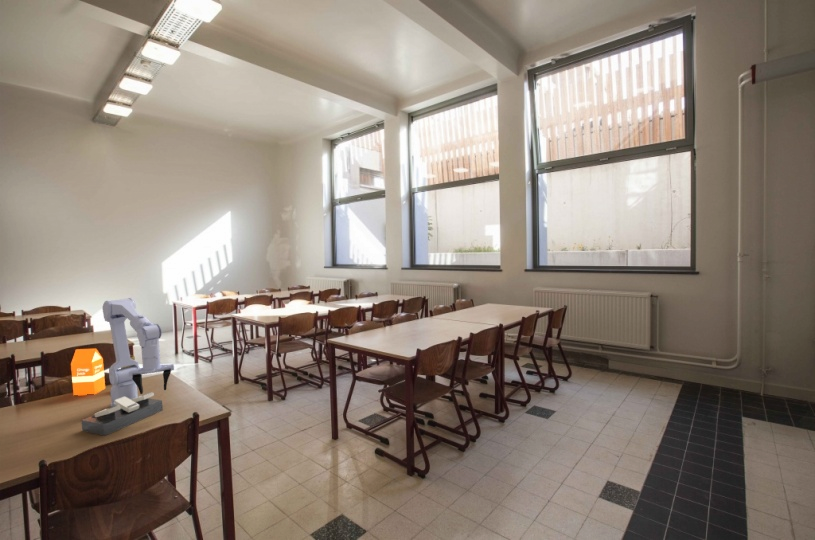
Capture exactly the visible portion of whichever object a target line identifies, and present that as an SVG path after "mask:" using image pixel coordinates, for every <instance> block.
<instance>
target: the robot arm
mask: <svg viewBox="0 0 815 540" xmlns="http://www.w3.org/2000/svg"><path fill="white" fill-rule="evenodd" d="M136 307H137V306H136V302H135V300H134V299H133V298H132V297H128V298H122V299H114V300H113V299H112V300H105V301H104V302H103V305H102V315H103V319H104V321H105V322H107V323H108V322H109V325H110V332H111V338H112V344H113V349H114V355H115V362H114V363H113V364H112V365H110V367H109V368H108V369H109V374H108V377H109V382H110V385H112V386H111V388H110V403H111V404H109V407H113V406H116V405H115V404H114V400H116V399H119V398H122V397H124V396H125V397H127V398H129V399H130V400H131V399H133V398H136V397H139V395H138V392H139V394H140V395H144V394H143V393H144V386H143V377H142V376H143V375H147V374H155V373H161V372H163V373H162V376H163V377H162V378H163V391H167V385H168V380H169V378H170V375H171V373H172V371H174V370H175V363H172V364H161V353H160V339H161V337H162V328H161V326H160V325H159V323H152V322H151V321H150V320H149V319H148V317H146V316H145V315H143V314H140V313H139V312H138V311H137V308H136ZM126 320H129V321H130V322H129V325H130V327H131V328H132V329H133V330H134V332H136V337H137V339H138V343H139V346H140V348H141V358H142V359H141V361H142V363H141V364H142V367H140V364H139V362H138V361H136V360H132V359H131V358H130V356H131V353H130V349H129V348H130V346H129V342H128V341H129V340H128V336H127V330H126V324H125V322H126ZM126 366H130V367H126ZM122 367H126V368H122Z"/></svg>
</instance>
